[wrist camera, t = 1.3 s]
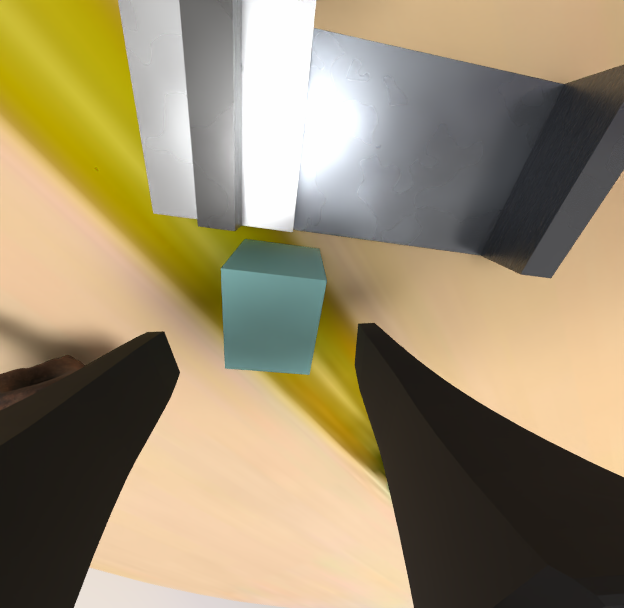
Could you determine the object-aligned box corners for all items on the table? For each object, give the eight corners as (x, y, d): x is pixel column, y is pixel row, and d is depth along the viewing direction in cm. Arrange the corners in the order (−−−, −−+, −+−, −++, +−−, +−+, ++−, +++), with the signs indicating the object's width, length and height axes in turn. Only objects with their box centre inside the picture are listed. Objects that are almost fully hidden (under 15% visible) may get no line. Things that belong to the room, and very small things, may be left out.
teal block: (319, 248, 13) (326, 280, 9) (307, 323, 16) (309, 374, 12) (245, 238, 13) (220, 268, 9) (244, 317, 15) (225, 368, 11)
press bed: (577, 97, 10) (693, 66, 7) (495, 254, 14) (551, 278, 11) (131, -2, 8) (36, -98, 5) (162, 208, 12) (113, 221, 9)
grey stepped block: (312, 45, 9) (318, -29, 5) (294, 219, 11) (291, 238, 8) (164, 13, 8) (75, -90, 5) (184, 204, 11) (136, 218, 8)
